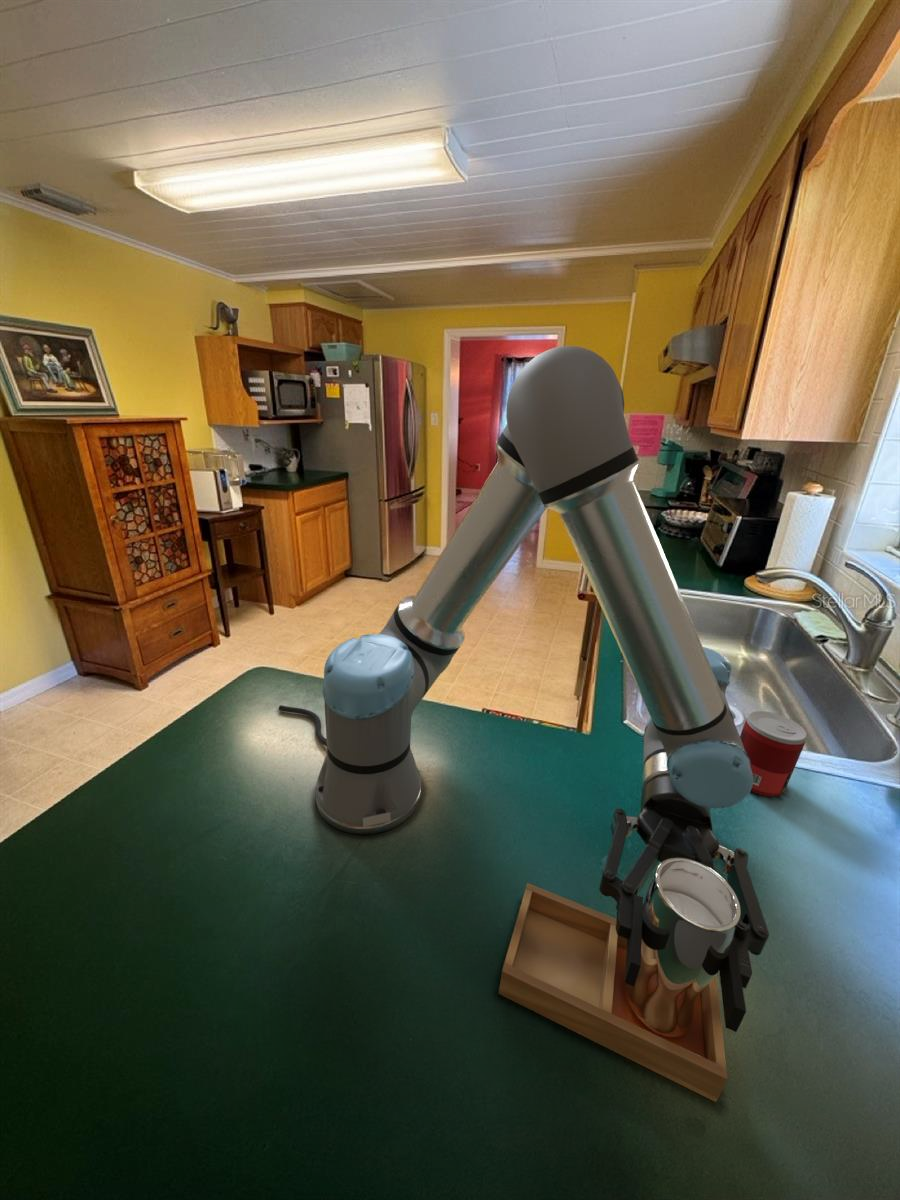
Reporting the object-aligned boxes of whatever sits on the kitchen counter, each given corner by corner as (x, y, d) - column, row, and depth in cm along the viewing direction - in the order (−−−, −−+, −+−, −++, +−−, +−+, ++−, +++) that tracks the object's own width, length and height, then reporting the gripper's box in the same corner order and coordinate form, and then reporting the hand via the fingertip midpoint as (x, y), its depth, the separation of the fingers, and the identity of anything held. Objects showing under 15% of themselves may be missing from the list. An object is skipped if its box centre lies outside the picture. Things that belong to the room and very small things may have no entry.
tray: (716, 1102, 40) (728, 1079, 39) (498, 993, 47) (501, 971, 45) (705, 981, 49) (715, 958, 47) (523, 904, 55) (527, 882, 54)
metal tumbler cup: (693, 1063, 41) (742, 951, 35) (612, 1010, 44) (645, 901, 39) (701, 987, 47) (745, 881, 41) (629, 946, 50) (660, 842, 44)
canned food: (793, 802, 73) (818, 745, 69) (737, 792, 74) (758, 735, 70) (772, 768, 80) (793, 715, 76) (721, 760, 81) (740, 706, 77)
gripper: (757, 851, 56) (812, 1088, 36) (586, 796, 62) (553, 969, 42) (777, 803, 53) (848, 1030, 33) (596, 750, 60) (565, 913, 40)
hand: (682, 996), depth 38 cm, fingers closed on metal tumbler cup, 7 cm apart
